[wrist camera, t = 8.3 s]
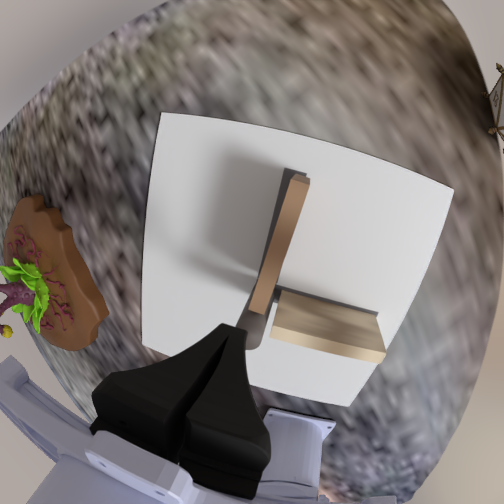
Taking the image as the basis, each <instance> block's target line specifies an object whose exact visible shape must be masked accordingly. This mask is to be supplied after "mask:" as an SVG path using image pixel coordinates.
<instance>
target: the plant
mask: <svg viewBox="0 0 504 504" xmlns="http://www.w3.org/2000/svg"><path fill="white" fill-rule="evenodd" d="M3 244H4V249H3V257H4V263H5V266H0V271H1V272H2V274H3V276H4V277H5V278H7V279H8V280H9V281H11V283H9V284H0V292H3V293H5V294H6V295H7V296H8V297H7V298H6V299H5V300H4V301H3V303H1V304H0V316H1V315H3V313H4V311H5V310H6V309H8V308H10V307H11V306H12V310H13V312H15V313H20V312H23V318H24V322H25V323H27V322H28V321H29V318H30V323H31V324H33V325H34V328H35V330H36V332H37V334H39V333H40V334H41V335H42V336H43V337H44V338H45V339H46V340H47V341H48V342H49V343H50V344H52V345H55V346H57V347H60V348H62V349H65V350H69V351H77V350H79V349H82V348H84V347H87V346H89V345H90V344H91V343H92V342H93V341H94V340H95V339H96V338H97V337H98V327H99V325H100V323H101V322H102V320H103V319H104V318H105V317H106V316H108V315H109V311H108V309H107V306H106V303H105V300H104V298H103V296H102V294H101V293H100V291H99V290H98V289H97V287H96V285H95V284H94V282H93V280H92V277H91V274H90V271H89V269H88V267H87V265H86V263H85V262H84V260H83V259H82V257H81V255H80V253H79V251H78V250H77V248H76V246H75V243H74V240H73V234H72V228H71V227H70V226H68V225H66V224H65V223H64V221H63V219H62V216H61V214H60V211H59V210H58V208H55V207H53V208H47V207H46V206H45V204H44V200H43V197H42V195H40V194H35V195H31V196H27V197H24V198H22V199H21V200H19V202H18V203H17V205H16V208H15V210H14V213H13V215H12V218H11V220H10V223H9V225H8V228H7V231H6V236H5V238H4V241H3ZM0 333H1V335H2V336H4V337H6V338H10V337H11V335H12V333H13V331H12V329H11V327H10V326H8V325H0Z"/></svg>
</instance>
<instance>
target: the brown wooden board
mask: <svg viewBox="0 0 504 504" xmlns="http://www.w3.org/2000/svg"><path fill="white" fill-rule="evenodd" d="M309 186H310V178H308V177H305V176H302V175H299V174H295V175H294V176H293V177H292V178H291V180H290V183H289V187H288V190H287V193H286V196H285V199H284V202H283V205H282V208H281V212H280V215H279V218H278V221H277V224H276V227H275V230H274V233H273V236H272V239H271V242H270V245H269V248H268V252H267V255H266V258H265V261H264V264H263V267H262V270H261V273H260V276H259V279H258V282H257V285H256V288H255V291H254V294H253V297H252V300H251V303H250V306H249V310H251V311H254V312H257V313H260V314H263V315H264V313H265V311H266V308H267V306H268V303H269V300H270V298H271V295H272V292H273V289H274V287H275V284H276V281H277V279H278V276H279V273H280V270H281V268H282V265H283V262H284V259H285V256H286V254H287V251H288V248H289V245H290V242H291V239H292V237H293V234H294V231H295V228H296V225H297V222H298V219H299V216H300V213H301V210H302V207H303V204H304V201H305V199H306V196H307V193H308V189H309Z"/></svg>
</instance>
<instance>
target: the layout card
mask: <svg viewBox="0 0 504 504" xmlns="http://www.w3.org/2000/svg"><path fill="white" fill-rule="evenodd" d="M295 174H299V175H302V176H305V177H308V178H310V186H309V189H308V193H307V196H306V199H305V201H304V204H303V207H302V210H301V213H300V216H299V219H298V222H297V225H296V228H295V231H294V234H293V237H292V239H291V242H290V245H289V248H288V251H287V254H286V256H285V259H284V262H283V265H282V268H281V270H280V273H279V276H278V279H277V281H276V284H275V289H276V294H275V297H274V301H273V304H272V308H271V311H270V314H269V318H268V321H267V324H266V328H265V331H264V334H263V338H262V341H261V344H260V346H259V347H258V348H256V349H254V350H246V367H247V374H248V379H249V384H251V385H254V386H258V387H262V388H265V389H269V390H273V391H276V392H280V393H284V394H288V395H293V396H297V397H301V398H306V399H310V400H315V401H320V402H325V403H330V404H336V405H342V406H348V407H349V405H350V404H351V403H352V401H353V400H354V399H355V397H356V396H357V394H358V393H359V391H360V390H361V389H362V387H363V386H364V384H365V383H366V381H367V380H368V378H369V377H370V375H371V374H372V372H373V371H374V369H375V367H376V366H377V364H378V363H373V362H368V361H363V360H358V359H353V358H349V357H344V356H340V355H335V354H331V353H327V352H323V351H319V350H315V349H311V348H307V347H303V346H299V345H295V344H291V343H288V342H284V341H280V340H277V339H273V338H270V337H269V336H270V332H271V328H272V324H273V321H274V317H275V313H276V309H277V305H278V301H279V298H280V295H281V291H282V290H284V291H288V292H291V293H295V294H299V295H302V296H306V297H309V298H313V299H317V300H320V301H324V302H328V303H331V304H335V305H339V306H343V307H346V308H350V309H354V310H358V311H362V312H366V313H369V314H373V315H375V316H376V319H377V322H378V325H379V328H380V332H381V335H382V338H383V342H384V345H385V349H387V348H388V346H389V344H390V343H391V341H392V339H393V337H394V335H395V334H396V332H397V330H398V328H399V326H400V324H401V323H402V321H403V319H404V317H405V315H406V313H407V311H408V309H409V307H410V305H411V303H412V301H413V299H414V297H415V295H416V293H417V290H418V288H419V286H420V284H421V282H422V279H423V277H424V275H425V272H426V270H427V268H428V265H429V263H430V260H431V258H432V255H433V253H434V250H435V248H436V245H437V242H438V239H439V237H440V234H441V231H442V228H443V225H444V222H445V219H446V216H447V213H448V210H449V206H450V203H451V200H452V196H453V193H454V190H453V189H451V188H449V187H447V186H445V185H443V184H441V183H438V182H436V181H434V180H432V179H429V178H427V177H425V176H422V175H420V174H418V173H415V172H413V171H410V170H408V169H405V168H403V167H400V166H398V165H395V164H392V163H390V162H387V161H384V160H381V159H379V158H376V157H373V156H370V155H367V154H364V153H361V152H358V151H355V150H352V149H349V148H345V147H342V146H339V145H335V144H332V143H329V142H325V141H321V140H318V139H314V138H310V137H306V136H302V135H298V134H294V133H290V132H286V131H281V130H277V129H272V128H268V127H263V126H258V125H252V124H247V123H241V122H236V121H230V120H223V119H216V118H209V117H202V116H194V115H185V114H174V113H163V112H162V114H161V119H160V124H159V129H158V134H157V140H156V146H155V152H154V158H153V164H152V171H151V178H150V186H149V194H148V203H147V213H146V224H145V236H144V251H143V272H142V345H145V346H147V347H149V348H151V349H154V350H156V351H158V352H161V353H163V354H166V355H168V356H170V357H172V356H174V355H176V354H178V353H180V352H182V351H184V350H185V349H187V348H189V347H190V346H192V345H193V344H195V343H196V342H198V341H199V340H201V339H202V338H203V337H205V336H206V335H207V334H209V333H210V332H211V331H212V330H214V329H215V328H216V327H217V326H218V325H219V324H221V323H225V324H228V325H231V326H234V327H235V326H236V324H237V322H238V319H239V317H240V315H241V313H242V311H243V309H244V307H245V304H246V302H247V300H248V298H249V296H250V294H251V291H252V289H253V287H254V285H255V284H256V283H257V282H258V279H259V276H260V273H261V270H262V267H263V264H264V261H265V258H266V255H267V252H268V248H269V245H270V242H271V239H272V236H273V233H274V230H275V227H276V224H277V221H278V218H279V215H280V212H281V208H282V205H283V202H284V199H285V196H286V193H287V190H288V187H289V183H290V180H291V178H292V177H293V176H294V175H295Z"/></svg>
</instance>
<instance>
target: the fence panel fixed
mask: <svg viewBox="0 0 504 504" xmlns="http://www.w3.org/2000/svg"><path fill="white" fill-rule="evenodd" d="M256 285H257V283H256V284H255V285H254V287H253V289H252V291H251V294H250V296H249V298H248V300H247V302H246V304H245V307H244V309H243V311H242V313H241V315H240V317H239V319H238V322H237V324H236V326H235V327H237V328H241V329H244V330H247V332H248V336H247V339H246V350H254V349H256V348H258V347H259V346H260V344H261V341H262V338H263V334H264V331H265V328H266V324H267V321H268V318H269V314H270V311H271V308H272V304H273V301H274V297H275V294H276V289H275V287H274V289H273V292H272V295H271V298H270V300H269V303H268V306H267V308H266V311H265V313H264V315H263V314H260V313H257V312H254V311H251V310H249V306H250V303H251V300H252V297H253V294H254V291H255V288H256ZM269 337H270V338H273V339H277V340H280V341H284V342H288V343H291V344H295V345H299V346H303V347H307V348H311V349H315V350H319V351H323V352H327V353H331V354H335V355H340V356H344V357H349V358H353V359H358V360H363V361H368V362H373V363H378V364H381V362H382V360H383V359H384V357H385V355H386V354H387V352H386V349H385V345H384V342H383V338H382V335H381V332H380V328H379V325H378V322H377V319H376V316H375V315H373V314H369V313H366V312H362V311H358V310H354V309H350V308H346V307H343V306H339V305H335V304H331V303H328V302H324V301H320V300H317V299H313V298H309V297H306V296H302V295H299V294H295V293H291V292H288V291H284V290H282V291H281V295H280V298H279V301H278V305H277V309H276V313H275V317H274V321H273V324H272V328H271V332H270V336H269Z"/></svg>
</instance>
